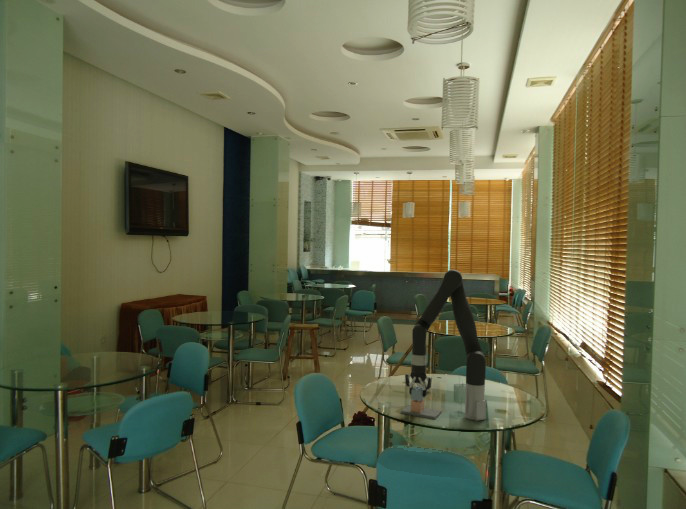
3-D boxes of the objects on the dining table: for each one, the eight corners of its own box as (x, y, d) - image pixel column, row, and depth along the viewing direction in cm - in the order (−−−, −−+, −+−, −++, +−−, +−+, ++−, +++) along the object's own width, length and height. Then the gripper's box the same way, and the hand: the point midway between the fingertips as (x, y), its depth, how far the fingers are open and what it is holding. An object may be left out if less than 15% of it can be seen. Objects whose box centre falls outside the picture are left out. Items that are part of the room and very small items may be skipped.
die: (434, 392, 304) (428, 376, 309) (432, 388, 297) (427, 372, 302) (420, 396, 305) (415, 381, 310) (419, 392, 297) (413, 377, 303)
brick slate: (420, 401, 261) (420, 389, 261) (411, 399, 263) (411, 388, 263) (424, 398, 266) (424, 386, 266) (415, 396, 268) (415, 385, 268)
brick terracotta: (414, 407, 268) (415, 396, 268) (424, 409, 266) (424, 398, 266) (410, 410, 263) (411, 399, 263) (420, 412, 261) (420, 401, 261)
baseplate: (441, 413, 265) (441, 410, 265) (435, 419, 255) (435, 416, 255) (408, 407, 273) (408, 404, 273) (400, 413, 263) (400, 410, 263)
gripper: (402, 362, 264) (402, 395, 264) (430, 366, 257) (429, 400, 258) (407, 360, 271) (407, 391, 271) (434, 363, 264) (433, 396, 265)
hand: (417, 395), depth 264 cm, fingers open, 6 cm apart
